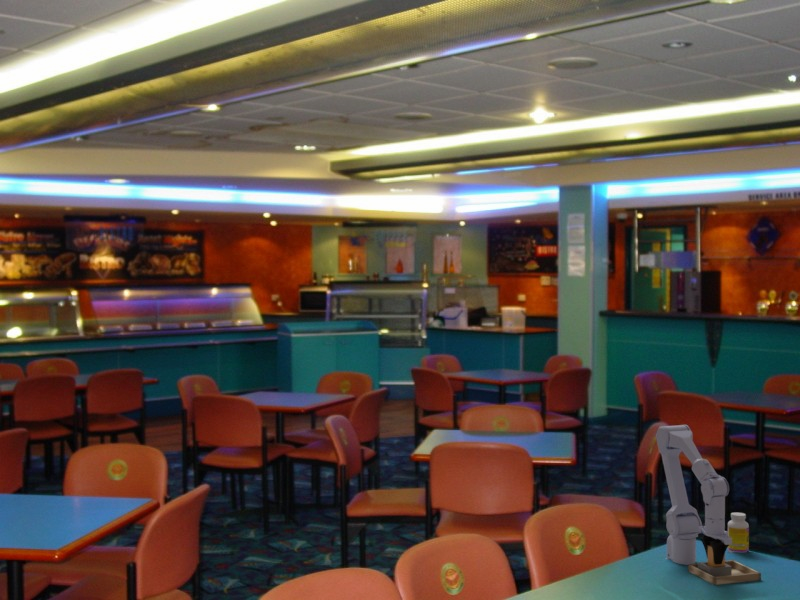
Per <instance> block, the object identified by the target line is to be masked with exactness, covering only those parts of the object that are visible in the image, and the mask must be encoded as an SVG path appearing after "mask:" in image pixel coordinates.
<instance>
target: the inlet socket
mask: <svg viewBox="0 0 800 600" xmlns="http://www.w3.org/2000/svg"><path fill="white" fill-rule="evenodd" d="M697 564H698V569H700V570H702V571H704V572H706V573H708V574H710V575H712V576H714V577H720V576H729V575H732V566H730V565H728V564H726V563H725V566H718V567H710V566H708V561H702V562H701V561H700V562H697Z"/></svg>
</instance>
